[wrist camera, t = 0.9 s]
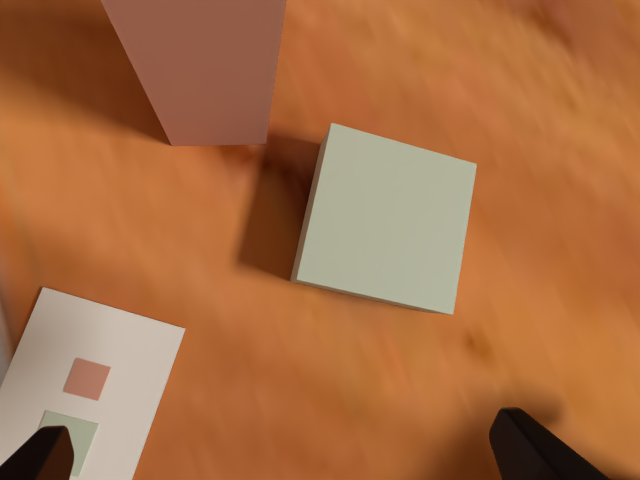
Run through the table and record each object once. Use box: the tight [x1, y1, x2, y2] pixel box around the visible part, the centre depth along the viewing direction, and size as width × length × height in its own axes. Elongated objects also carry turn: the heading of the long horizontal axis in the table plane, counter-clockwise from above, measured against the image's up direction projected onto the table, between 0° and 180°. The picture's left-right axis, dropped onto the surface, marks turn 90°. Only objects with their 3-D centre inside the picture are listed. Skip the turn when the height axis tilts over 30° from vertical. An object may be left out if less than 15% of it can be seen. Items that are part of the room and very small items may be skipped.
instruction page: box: [0, 287, 186, 480], centre depth 20 cm, size 10×7×1 cm
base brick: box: [290, 123, 477, 315], centre depth 22 cm, size 8×8×3 cm
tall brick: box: [100, 0, 286, 146], centre depth 17 cm, size 5×5×12 cm
